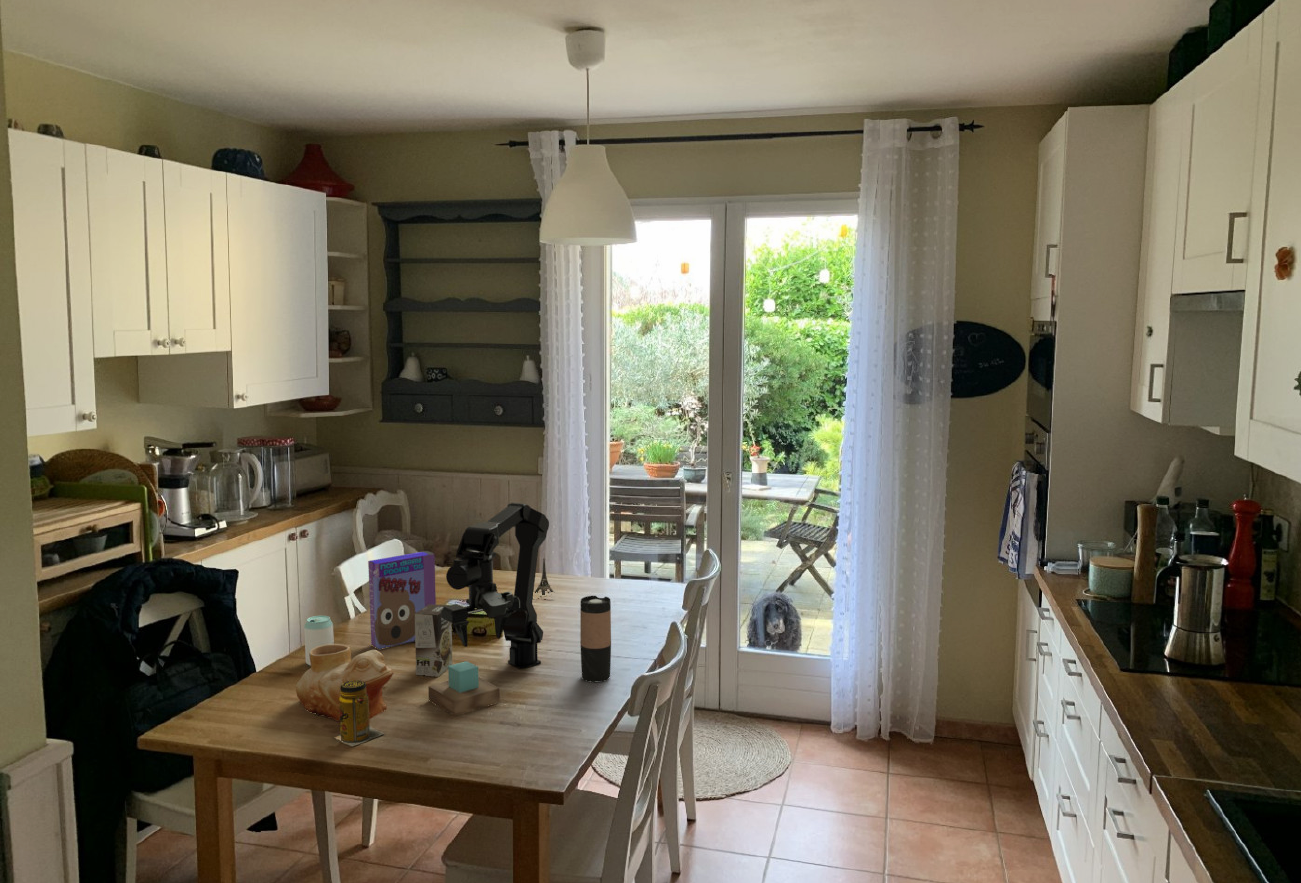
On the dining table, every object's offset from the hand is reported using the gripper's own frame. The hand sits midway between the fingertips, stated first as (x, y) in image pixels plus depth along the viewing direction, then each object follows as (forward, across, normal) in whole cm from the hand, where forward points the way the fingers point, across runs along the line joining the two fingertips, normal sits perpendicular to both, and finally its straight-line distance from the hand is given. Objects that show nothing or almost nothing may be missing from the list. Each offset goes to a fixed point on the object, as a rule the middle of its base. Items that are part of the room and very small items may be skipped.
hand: (482, 642), depth 236 cm
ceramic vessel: (+12, -30, +11) cm, 34 cm away
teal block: (+8, -7, -3) cm, 11 cm away
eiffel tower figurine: (+13, +59, +59) cm, 85 cm away
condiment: (+12, -34, -5) cm, 37 cm away
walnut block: (+12, -7, -3) cm, 15 cm away
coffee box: (+12, -2, +20) cm, 24 cm away
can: (+12, -22, +44) cm, 51 cm away
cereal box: (+12, +3, +46) cm, 48 cm away
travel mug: (+12, +26, -11) cm, 31 cm away
